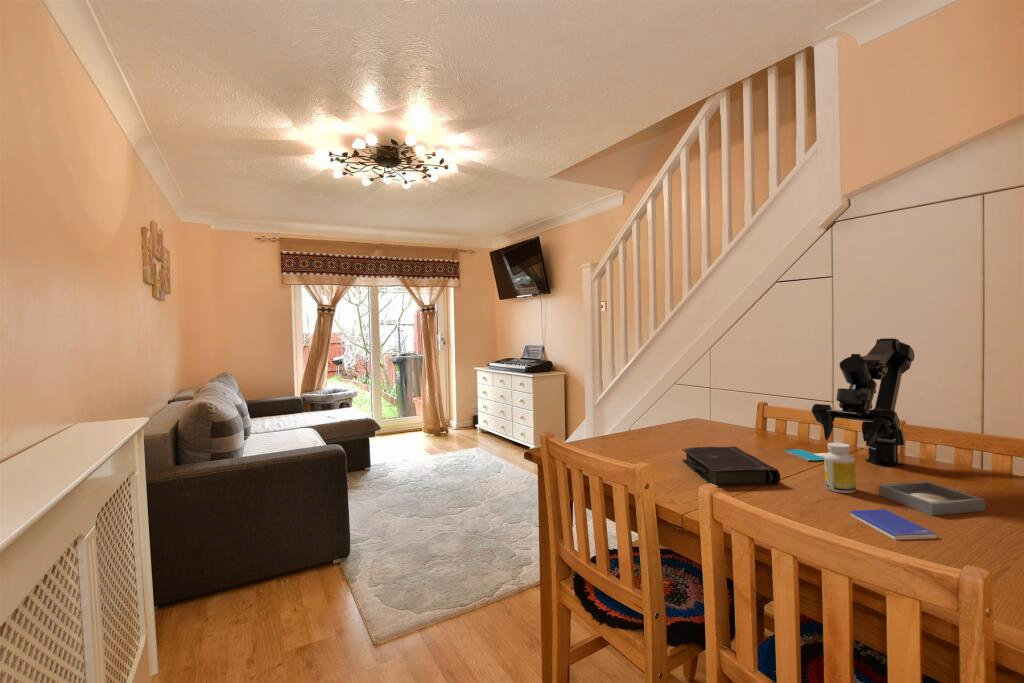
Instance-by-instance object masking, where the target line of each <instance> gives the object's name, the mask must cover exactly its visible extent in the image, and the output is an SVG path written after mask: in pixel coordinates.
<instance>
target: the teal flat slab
mask: <svg viewBox="0 0 1024 683" xmlns="http://www.w3.org/2000/svg"><path fill="white" fill-rule="evenodd" d="M783 452H784V453H785V454H787V455H788V456H789V455H790V456H791V457H795V458H796V459H799V460H802V461H805V462H807V461H808V462H809V461H811V462H812V461H814V462H816V461H817V462H816V463H823V462H824V461H823V460H824V456H825V454H826V453H827V452H822V453H821V452H819V453H813V452H809V451H807V450H803V449H801V448H800V449H797V448H796V449H793V448H791V447H789V448H786V449H784V451H783ZM820 461H821V462H820ZM822 461H823V462H822Z"/></svg>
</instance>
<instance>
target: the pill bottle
mask: <svg viewBox="0 0 1024 683" xmlns="http://www.w3.org/2000/svg"><path fill="white" fill-rule="evenodd" d="M827 449H828V452H825V453H826V454H825V456H824V457H823V458H824V463H823V464H824V485H825V487H826V489H827V490H829V491H832V492H835V493H840V494H841V493H843V494H853V493H855V492H856V490H857V478H856V458H855V457H854V456H853V455H851V454H850V451H851V445H850V444H847V443H843V442H827Z"/></svg>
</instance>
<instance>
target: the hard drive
mask: <svg viewBox="0 0 1024 683" xmlns="http://www.w3.org/2000/svg"><path fill="white" fill-rule="evenodd" d="M849 512H850V513H849V515H850V516H851V517H853V518H855V519H857V520H859V522H860V521H861V522H862V523H864V524H866V525H867V526H870V527H871V528H873V529H875V530H876V531H878V532H880V533H882V534H884V535H886V536H888V537H889V538H891V539H893V540H896V541H897V540H919V539H920V540H923V539H924V540H925V539H937V538H938V535H937V533H936V532H934V531H932V530H930V529H928V528H925V527H923V526H921V525H920V524H917V523H914V522H913V521H910V520H909V519H906V518H904V517H902V516H900V515H898V514H896V513H894V512H892V511H890V510H887V509H864V510H863V509H861V510H860V509H858V510H856V509H855V510H850V511H849Z"/></svg>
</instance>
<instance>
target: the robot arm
mask: <svg viewBox="0 0 1024 683" xmlns="http://www.w3.org/2000/svg"><path fill="white" fill-rule="evenodd" d="M914 361H915V351H914V349H913V348H912V346H911V345H910V344H907V343H904V342H901V341H900V340H899V339H898V338H893V337H891V338H890V337H889V338H888V337H887V338H886V337H885V338H878V339H876V342H875V345H874V346H873V347H872V348H871V350H870V351H869V352H868V353H867V354H866V355H863V356H861V354H860V353H851V355H850V356H848V357H845V358H844V359H842V360H841V361H840V362H839V368H840V370H841V373H842V376H843V377H844V379H845V382H846V383H847V384H849V387H848V388H837V392H836V399H835V400H836V401H837V402H839V404H838V406H839V408H840V409H841V410H837V409H833V408H832V406H831V405H830V404H823V403H814V404H813V405H812V408H811V413H812V415H813V417H814V419H815V421H816V422H817V423H819V424H820V425H821V426H822V427H823V434H824V435H823V436H824V440H825V441H829V439H830V438H831V434H832V432H833V428H834V426H835V425H834V423H835V419H844V420H852V421H858V422H862V423H861V432H862V439H863V442H865V446H866V447H868V458H865V461H866V462H870V463H872V464H875V465H879V466H883V467H888V466H889V467H891V466H900V465H904V463H903V462H902V461H899V452H898V450H899V449H898V447H899V446H904V445H905V439H904V434H903V431H902V429H901V421H900V418H899V416H898V413H897V412H896V405H897V400H898V396H899V390H900V385H901V382H902V381H901V380H902V375H903V374H904V373H906V372H907V371H908V370H909V369H911V365H912V363H913V362H914ZM875 380H877V381H879V380H880V384H879V386H878V387H879V388H878V392H877V382H876V381H875ZM876 393H877V397H876V400H875V406H874V408H873V400H874V396H875V394H876Z"/></svg>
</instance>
